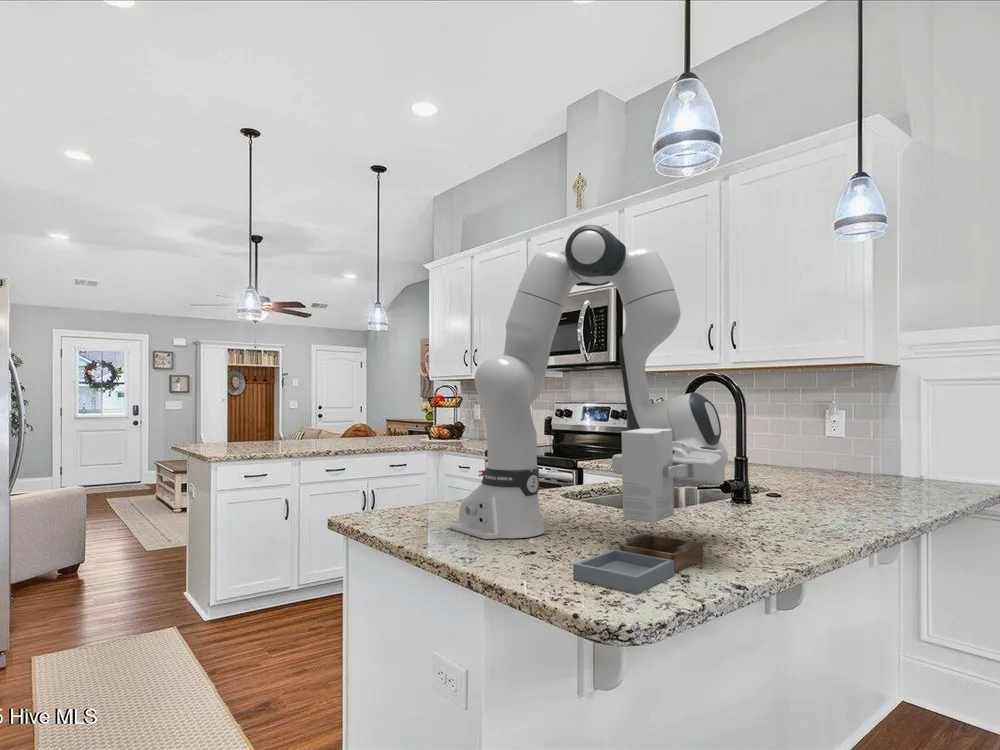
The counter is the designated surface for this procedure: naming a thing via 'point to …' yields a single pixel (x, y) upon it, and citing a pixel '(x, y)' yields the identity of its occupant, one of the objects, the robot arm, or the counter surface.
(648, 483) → the skincare box
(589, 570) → the slate tray
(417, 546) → the counter surface
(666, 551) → the walnut caddy
